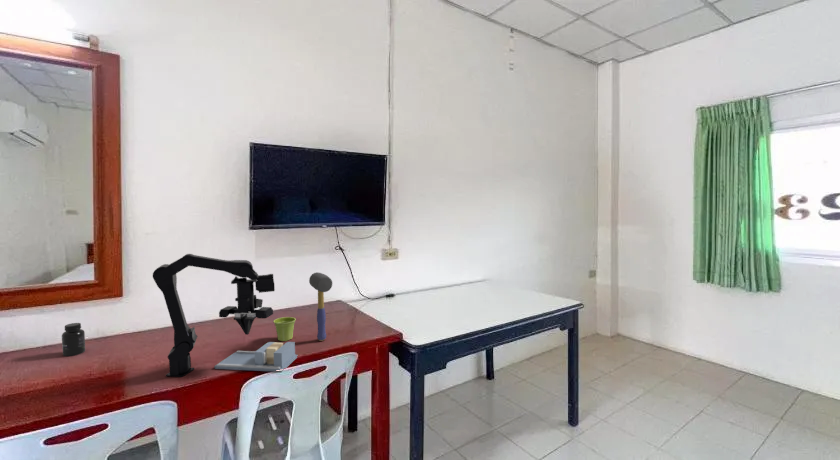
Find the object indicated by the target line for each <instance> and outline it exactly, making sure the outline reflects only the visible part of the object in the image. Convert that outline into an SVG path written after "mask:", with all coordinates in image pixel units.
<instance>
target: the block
mask: <svg viewBox="0 0 840 460" xmlns="http://www.w3.org/2000/svg"><path fill="white" fill-rule="evenodd" d="M273 342H274V343H273V344H272V345H270V346H269V347H268V348H266V349H267V364H274V352H275V351H277V350H278V349H279V348H280V347H282V346H283V345H284V342H275V341H273Z"/></svg>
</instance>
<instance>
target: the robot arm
mask: <svg viewBox="0 0 840 460" xmlns="http://www.w3.org/2000/svg"><path fill="white" fill-rule="evenodd" d="M188 267H195V268H201V269H208V270H213V271H219V272H220V271H222V272H225V273H228V274H231V275H234V276H235V277H234V278H233V279H231V281H230V284H231V285H234V284H235V285H236V298H234V300H235V302H237V306H233V305H232V306H231V305H230V306H229V305H227V306H226V307H223V308H221V309H220V310H219V311H218V317H219V318H228V316H229V315H234V317H233V320H235V321H236V322H237V324H238V325H239V327H240V328H241V329H242V331H243V333H244V334H245V335H249V334H250V332H251V329H252V326H253V323H254V321H255V319H267V318H269V317H271V316H272V315H274V309H273V308H272V307H270V306H269V307H267V306H263V301H264V300H263V299H261V298H257V295H256V294H255V291H257V292H258V293H259V294H260V293H271V292H275V290H276V289H275V280H274V273H268V274H260V275H259V274H258V272H257V271H256V270H255V269H254V267H253V264H252V263H251V261H249V260H246V259H234V260H233V259H232V260H229V259H227V260H226V259H220V258H215V257H214V258H213V257H208V256H202V255H197V254H193V253H185V255H183V256H182V257H180V258H178V259H176V260H175V261H173V262H172V263H170V264H169V263H167V264H166V263H164V264H162V265H161V264H160V266H158V267H156V269H155V270H154V271H153V272H152V278H153V281H154V282H155V284H156V286H157V287H158V289H159V290H160V291H161V293H162V294H163V298H164V301H165V304H166V308H167V310H168V314H169V317H170V321H171V325H172V328H173V332H174V333H173V347H171V349H170V351H169V352H168V354H167V359H168V366H169V368H168V369H169V372H168V373H166V374H165V377H174V378H182V377H184V376H187V374H189V373H191V372H193V371H194V370H195V367H192V361H191V360H192V357H191V352H192V351H193V349H194V347H195V344H196V341H197V339H198V335H197V334H196V328H195V326H193V327H190V326H189V325H188V322H187V319H186V316H185V312H184V309H183V305H182V302H181V298H180V296H179V293H178V289H177V286H178V285H177V283H178V282H177V279H178V278H177V274H178V273H180V272H181V271H183V270H184V269H186V268H188ZM254 283H255V285H254ZM254 287H255V289H254Z"/></svg>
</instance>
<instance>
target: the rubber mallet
mask: <svg viewBox="0 0 840 460" xmlns="http://www.w3.org/2000/svg"><path fill="white" fill-rule="evenodd" d="M308 279H309V280H308V281H309V285H310V286H311V287H312V288H314V290H316V291H317V312H316V323H317V335H316V339H317V340H318V341H320V342H322V341H326V338H327V333H326V332H327V331H326V321H327V318H326V315H327V314H326V308H325V295H324V293H327V292H328V291H330V290H331V289H332V287H333V280H332V278H331V277H329V275H326V274H324V273H322V272H314V273H312V274H311V275H310V277H309V278H308Z"/></svg>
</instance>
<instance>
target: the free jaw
mask: <svg viewBox="0 0 840 460" xmlns="http://www.w3.org/2000/svg"><path fill="white" fill-rule="evenodd" d="M274 342H275V341H268V342H267V343H265V344H264V345H262V346H261V347H260V348H258V349H257V350H254V351H255V365H264V364H265V363H267V349H266V348H268V347H269V346H270V345H272V344H273V343H274Z"/></svg>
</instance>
